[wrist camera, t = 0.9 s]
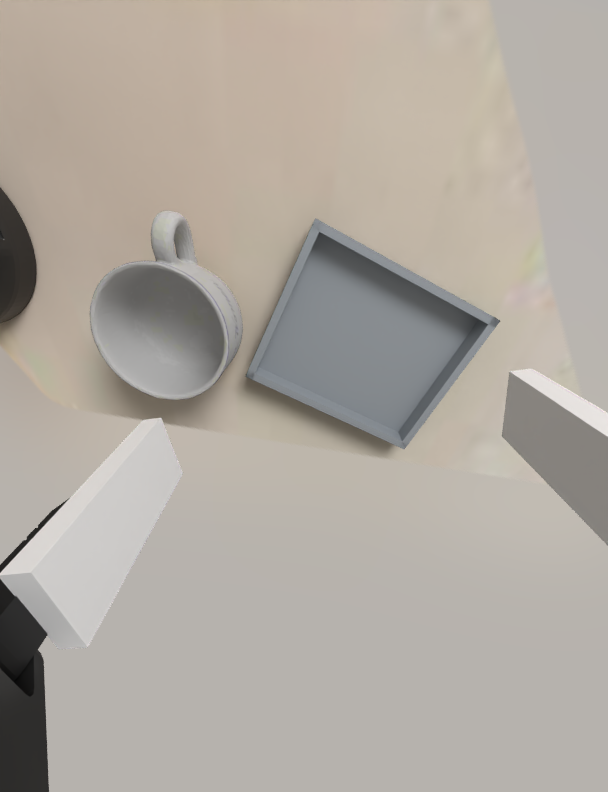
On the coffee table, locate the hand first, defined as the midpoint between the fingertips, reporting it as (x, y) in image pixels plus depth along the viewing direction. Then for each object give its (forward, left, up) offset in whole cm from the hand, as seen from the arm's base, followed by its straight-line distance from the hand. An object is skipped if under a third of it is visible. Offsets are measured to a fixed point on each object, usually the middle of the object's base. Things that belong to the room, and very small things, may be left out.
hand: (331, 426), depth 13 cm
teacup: (-12, -4, -21) cm, 24 cm away
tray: (+4, 0, -21) cm, 21 cm away
